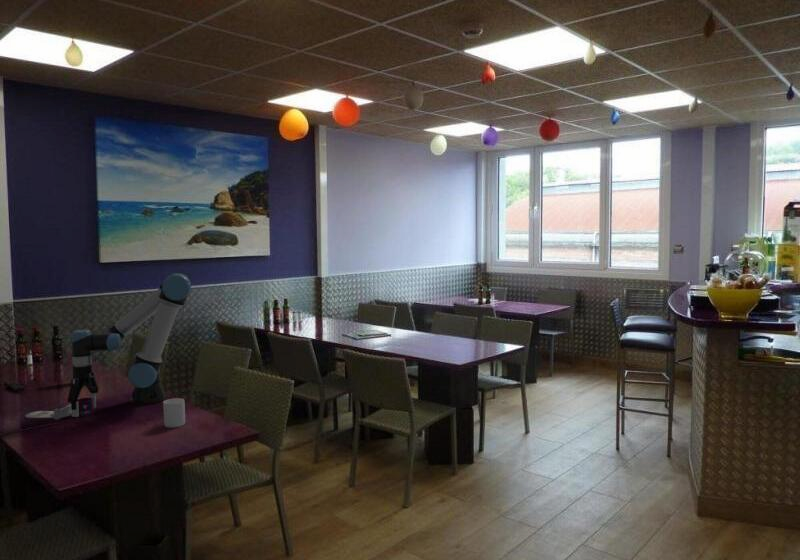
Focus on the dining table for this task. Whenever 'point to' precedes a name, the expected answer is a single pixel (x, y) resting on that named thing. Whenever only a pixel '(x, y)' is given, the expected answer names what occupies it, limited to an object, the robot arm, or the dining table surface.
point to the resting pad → (44, 414)
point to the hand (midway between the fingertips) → (84, 411)
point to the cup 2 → (174, 412)
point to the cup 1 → (85, 406)
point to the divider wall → (62, 411)
